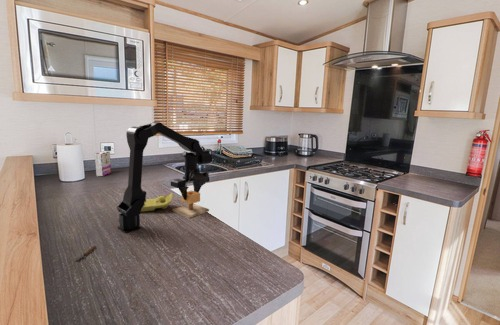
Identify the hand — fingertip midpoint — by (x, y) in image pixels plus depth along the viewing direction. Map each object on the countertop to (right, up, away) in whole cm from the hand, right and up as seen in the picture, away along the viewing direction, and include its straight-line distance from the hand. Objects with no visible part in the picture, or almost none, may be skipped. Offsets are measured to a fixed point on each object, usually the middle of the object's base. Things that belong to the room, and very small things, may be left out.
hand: (190, 198), depth 125 cm
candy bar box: (-76, +8, +65) cm, 100 cm away
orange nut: (0, -1, 0) cm, 1 cm away
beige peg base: (0, -6, +1) cm, 6 cm away
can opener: (-25, -13, -40) cm, 49 cm away
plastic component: (-20, -6, +2) cm, 21 cm away
